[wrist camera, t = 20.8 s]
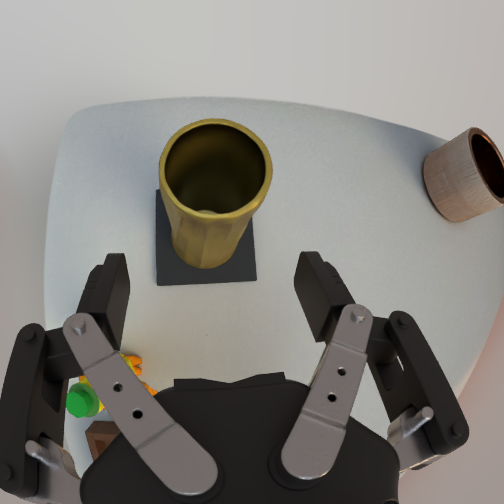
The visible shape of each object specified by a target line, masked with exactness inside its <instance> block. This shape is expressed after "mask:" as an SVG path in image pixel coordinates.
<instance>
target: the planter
mask: <svg viewBox="0 0 504 504" xmlns="http://www.w3.org/2000/svg"><path fill="white" fill-rule="evenodd" d="M423 173H424V181H425V185H426V188H427V191H428V194H429V196H430V198H431V200H432V202H433V203H434V205H435V207H436V208H437V209H438V210H439V212H440V213H441V214H442V215H443V216H444V217H445V218H447V219H448V220H450V221H453V222H462V221H465V220H468V219H470V218H473V217H475V216H478V215H481V214H483V213H486V212H488V211H491V210H493V209H496V208H499V207H501V206H504V160H503V157H502V155H501V153H500V152H499V150H498V148H497V147H496V145H495V144H494V142H493V141H492V140H491V139H490V137H489V136H488V135H487V134H486V133H484V132H483V131H482V130H481V129H479V128H477V127H471V128H469V129H468V130H466V131H465V132H463V133H462V134H460V135H459V136H457V137H455V138H454V139H452V140H451V141H449V142H447V143H446V144H444V145H443V146H441V147H439V148H438V149H436V150H435V151H433V152H432V153H430V154H429V155H428V156H427V157H426V159H425V162H424V167H423Z"/></svg>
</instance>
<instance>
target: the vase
mask: <svg viewBox="0 0 504 504" xmlns="http://www.w3.org/2000/svg"><path fill="white" fill-rule="evenodd" d="M272 174H273V168H272V161H271V157H270V154H269V151H268V149H267V147H266V145H265V144H264V143H263V141H262V140H261V139H260V138H259V137H258V136H257V135H256V134H255V133H253V132H252V131H251V130H249V129H248V128H246V127H245V126H243V125H240V124H238V123H236V122H233V121H230V120H226V119H204V120H200V121H196V122H194V123H191V124H189V125H186V126H184V127H183V128H181V129H180V130H178V131H177V132H176V133H175V134H174V135H173V136H172V137H171V138H170V139H169V141H168V142H167V144H166V146H165V148H164V150H163V152H162V155H161V157H160V161H159V187H160V191H161V195H162V199H163V202H164V204H165V208H166V211H167V214H168V217H169V220H170V224H171V228H172V231H171V241H172V245H173V248H174V250H175V252H176V253H177V255H178V256H179V257H180V258H181V259H182V260H183V261H184V262H185V263H187V264H189V265H191V266H194V267H196V268H200V269H207V268H214V267H217V266H219V265H221V264H223V263H225V262H226V261H227V260H228V259H230V257H231V256H232V255H233V253H234V251H235V249H236V247H237V244H238V241H239V240H240V238H241V236H242V235H243V233H244V231H245V229H246V227H247V224H248V222H249V220H250V218H251V217H252V215H253V214H254V213H255V211H256V210H257V209H258V208H259V207H260V205H261V204H262V202H263V201H264V198H265V196H266V194H267V192H268V189H269V186H270V183H271V180H272Z"/></svg>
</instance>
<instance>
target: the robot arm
mask: <svg viewBox="0 0 504 504" xmlns="http://www.w3.org/2000/svg"><path fill="white" fill-rule="evenodd" d="M294 288H295V291H296V294H297V296H298V299H299V301H300V303H301V306H302V308H303V311H304V313H305V316H306V318H307V321H308V324H309V326H310V329H311V331H312V334H313V336H314V339H315V341H316V342H323V341H325V343H326V347H325V349H324V351H323V354H322V356H321V358H320V361H319V363H318V365H317V368H316V370H315V372H314V374H313V377H312V379H311V381H310V383H309V385H308V386H307V385H305V384H303V383H300V382H297V381H293V380H288V379H285V375H284V372H278V373H269V374H259V375H255V376H252V377H249V378H246V379H243V380H240V381H236V382H233V383H225V382H219V381H213V380H207V379H202V378H198V379H174V387H170V388H167V389H164V390H162V391H160V392H158V393H156V394H155V395H153V396H152V395H151V393H150V392H149V391H148V390H147V389H146V387H145V386H144V385H143V384H142V382H141V381H140V380H139V379H138V377H137V376H136V375H135V373H134V372H133V371H132V369H131V368H130V367H129V365H128V364H127V363H126V361H125V360H124V359H123V357H122V356H121V355H120V353H119V352H118V351H120V347H121V340H122V334H123V328H124V322H125V316H126V310H127V305H128V300H129V295H130V280H129V275H128V269H127V264H126V259H125V255H124V253H109V254H107V256H106V259H105V262H104V264H103V265H97V266H96V267H95V268H94V269H93V270H92V271H91V272H90V274H89V277H88V280H87V282H86V285H85V289H84V291H83V294H82V296H81V299H80V302H79V305H78V308H77V311H76V314H74V315H72V316H70V317H69V318H68V319H67V320H66V321H65V322H64V324H63V327H61V328H57V329H53V330H49V331H45V330H44V328H43V327H42V326H41V325H39V324H36V323H32V324H28V325H26V326H24V327H23V328H22V329H21V330H20V331H19V333H18V335H17V338H16V341H15V344H14V347H13V351H12V354H11V357H10V361H9V364H8V368H7V372H6V376H5V380H4V384H3V389H2V393H1V398H0V488H1V489H2V490H4V491H6V492H8V493H10V494H13V495H16V496H17V497H19V498H21V499H24V500H27V501H30V502H33V503H36V504H399V501H398V480H399V474H400V473H402V472H404V471H407V470H409V469H412V470H419V469H421V468H423V467H425V466H427V465H429V464H431V463H433V462H435V461H437V460H439V459H440V458H442V457H444V456H445V455H447V454H449V453H451V452H452V451H454V450H456V449H457V448H459V447H460V446H462V445H464V443H466V441H467V440H468V437H469V427H468V424H467V421H466V419H465V417H464V415H463V412H462V410H461V408H460V406H459V404H458V402H457V399H456V397H455V395H454V393H453V391H452V389H451V387H450V385H449V383H448V381H447V379H446V377H445V375H444V373H443V371H442V369H441V367H440V365H439V363H438V361H437V359H436V357H435V356H434V354H433V352H432V350H431V348H430V346H429V345H428V343H427V341H426V339H425V337H424V336H423V334H422V332H421V330H420V329H419V327H418V325H417V324H416V322H415V320H414V319H413V318H412V317H411V316H410V315H409V314H407V313H406V312H403V311H394V312H392V313H391V314H390V316H389V318H388V319H387V318H381V317H374V316H372V314H371V312H370V311H369V310H368V309H367V308H366V307H364V306H362V305H359V304H356V303H355V301H354V299H353V298H352V296H351V294H350V292H349V291H348V289H347V287H346V285H345V284H344V283H343V280H342V279H341V277H340V275H339V274H338V272H337V270H336V269H335V268H334V267H333V266H332V265H331V264H330V263H328V262H324V261H323V260H322V258H321V256H320V254H319V253H318V252H317V251H309V252H301V253H300V256H299V260H298V264H297V268H296V272H295V276H294ZM397 356H398V357H399V359H400V361H401V363H402V365H403V369H404V372H403V370H402V367H401V365H400V363H399V361H398V359H397ZM366 362H367V363H368V365H369V368H370V370H371V373H372V375H373V378H374V380H375V383H376V385H377V388H378V391H379V393H380V396H381V398H382V401H383V404H384V406H385V409H386V412H387V415H388V417H389V420H390V423H391V424H390V425H389V427H388V437H387V440H385V439H384V438H382V437H381V436H379V435H378V434H376V433H375V432H373V431H372V430H370V429H369V428H367V427H366V426H364V425H363V424H361V423H360V422H358V421H357V420H355V419H354V418H353V417H351V416H350V413H351V410H352V407H353V404H354V401H355V398H356V395H357V391H358V388H359V385H360V382H361V378H362V375H363V371H364V368H365V364H366ZM83 375H85V377H86V378H87V380H88V382H89V383H90V385H91V387H92V388H93V390H94V392H95V393H96V395H97V397H98V398H99V400H100V401H101V403H102V404H103V406H104V407H105V409H106V410H107V412H108V413H109V415H110V416H111V418H112V419H113V421H114V422H115V423H116V425H117V426H118V428H119V429H120V430H121V431H120V432H119V434H118V435H117V436H116V437H115V438H114V439H113V440H112V442H111V443H110V444H109V445H108V446H107V447H106V448H105V450H104V451H103V452H102V453H101V454H100V455H99V456H98V458H97V459H96V460H95V461H94V462H93V463H92V464H91V465H90V467H89V468H88V469H87V470H86V471H85V473H84V474H83V476H82V479H81V478H80V477H79V476H78V474H77V472H76V470H75V465H74V461H73V458H72V456H71V455H70V454H69V453H68V452H67V451H66V450H64V449H63V438H64V421H65V409H66V399H67V390H68V383H69V379H70V378H75V377H79V376H83Z"/></svg>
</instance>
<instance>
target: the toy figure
mask: <svg viewBox="0 0 504 504" xmlns="http://www.w3.org/2000/svg"><path fill="white" fill-rule="evenodd" d="M120 355H121V356H122V357H123V359H124V360H125V361H126V363H127V364H128V365H129V367H130V368H131V369H132V371H133V372H134V373H135V375H141V369H140V368H138V367H136V366H135V365H138V364H141V358H140V357H137V356H135V355H130V356H124V354H122V353H120ZM141 382H142V381H141ZM142 384H143V385H144V386H145V387H146V389H147V390H148V391H149V392H150V393H151V395H152V396H153V395H155V394H156V393H158V392H157V391H156V390H154V389H152V388H150V387H149V386H148V385H147V384H146V383H144V382H142ZM66 407H67V410H68V412H70V413H71V414H72V415H74V416H75V417H77V418H80V417H92V416H95V415H96V414H97V413H99V412H100V411H101V410H102V409H105V407H104V406H103V404H102V403H101V401H100V400H99V398H98V397H97V395H96V393H95V392H94V390H93V388H92V387H91V385H90V383H89V382H88V380H87V378H86V377H85V375H83V376H79V382H78V383H76V384H74V385H72V386H71V388H70V390H69V393H67V399H66ZM105 410H106V409H105Z"/></svg>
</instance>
